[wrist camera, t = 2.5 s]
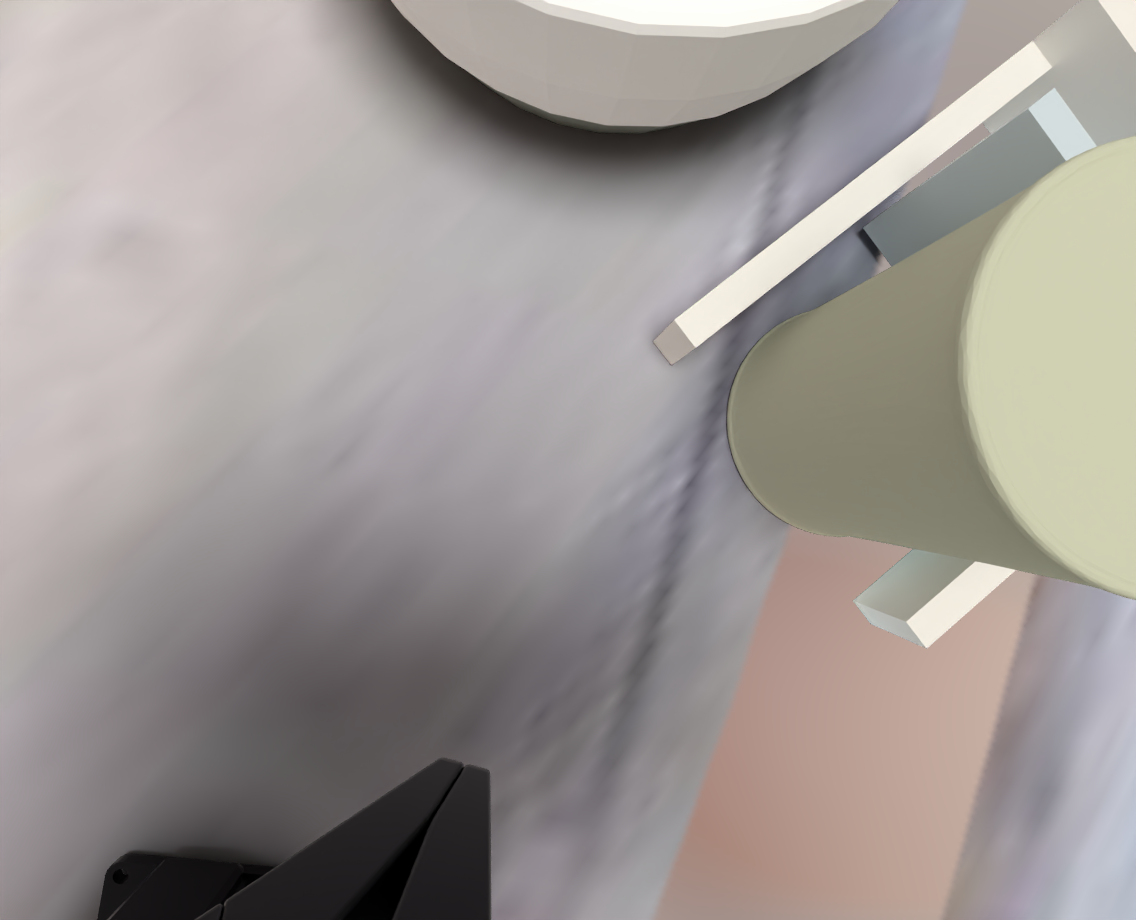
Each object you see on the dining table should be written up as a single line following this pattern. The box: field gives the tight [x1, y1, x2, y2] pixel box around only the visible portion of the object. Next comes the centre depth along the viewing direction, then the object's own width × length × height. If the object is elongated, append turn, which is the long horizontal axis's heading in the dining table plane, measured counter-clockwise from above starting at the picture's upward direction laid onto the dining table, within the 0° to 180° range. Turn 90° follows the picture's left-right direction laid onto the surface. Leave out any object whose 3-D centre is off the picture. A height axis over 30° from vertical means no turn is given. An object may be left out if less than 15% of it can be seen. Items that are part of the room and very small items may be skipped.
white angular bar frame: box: [653, 0, 1136, 648], centre depth 19 cm, size 18×14×5 cm
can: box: [727, 136, 1136, 600], centre depth 16 cm, size 9×9×12 cm
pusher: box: [863, 88, 1097, 266], centre depth 18 cm, size 1×11×7 cm, turn 39°
